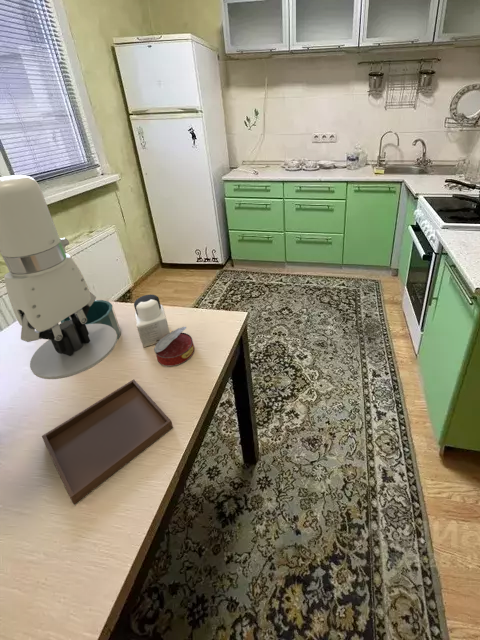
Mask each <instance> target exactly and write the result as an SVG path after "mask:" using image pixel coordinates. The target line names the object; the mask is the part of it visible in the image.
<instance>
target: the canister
mask: <svg viewBox="0 0 480 640" xmlns="http://www.w3.org/2000/svg"><path fill="white" fill-rule="evenodd" d="M86 318H87V322H86V323H85V325H87V324H105V325H108V326H110V327H112V328H113V329H114V330H115V331H116V334H117V341H118V340H119V339H120V336H121V333H122V332H121V327H120V324H119V321H118V318H117V315H116V312H115V309H114V306H113V304H112V303H111V302H110V301H109V300H103V299H97V300H95V301H94V302H93V304H92V305H91V306H90V307H89V311H88V313H87V316H86ZM69 320H70V318H69V317H67V318H65V319H64V320H62V321H61V322H60V324H61V323H62V322H65V321H69Z"/></svg>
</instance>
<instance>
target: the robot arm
mask: <svg viewBox="0 0 480 640" xmlns="http://www.w3.org/2000/svg"><path fill="white" fill-rule="evenodd" d="M59 235H60V234H59V233H58V230H57V228H56V225H55V222H54V220H53V217H52V215H51V211H50V210H49V207H48V204H47V202H46V199H45V196H44V193H43V191H42V188H41V186H40V184H39V183H38V182H37V180H36V179H35V178H33V177H31V176H27V175H6V176H0V255H1V258H2V259H3V261H4V263H5V265H6V267H7V270H8V271H9V272H7V273H5V274H4V276H3V277H4V283H5V290H6V292H7V296H8V300H9V303H10V306H11V308H12V311H13V314H14V317H15V318H16V320H17V322H18V324H19V325H20V326H21V332H20V340H21V341H23V342H27V343H31V342H35V341H39V340H47V341H48V340H51V342H52V344H53V346H54V348H55V350H56V352H58V353H59V354H62V353H63V354H65V355H68V356H71V355H73V353H74V351H73V349H72V347H71V344H70V342H69V340H68V338H67V337H66V336H63V335H62V332H61V329H60V326H59V324H60V323H61V321H62V320H64V319H65V318H67V317H69V318H70V320H72V321H74V322H75V325H76V327H77V330H78V332H79V335H80V337H81V339H82V342H83V343H89V342H90V339H89V336H88V335H89V332H88V330H87V327H86V325H85V323H86V322H87V318H86V316H87V313H88V311H89V307H90V306H91V305H92V304H93V302H94V301H95V300H96V299H97V296H96V295H95V294H94V293H92V292H90V288H89V286H88V284H87V281H86V279H85V277H84V275H83V273H82V272H81V270H80V268H79V266H78V265H77V263H76V262H75V260H74V259H73V258H72V255H70V254H69V253H67V252H66V249H65V248H67V247H68V246H69V245H70V242H69V239H68V238H66V237H63V238H60V236H59Z"/></svg>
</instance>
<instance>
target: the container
mask: <svg viewBox="0 0 480 640" xmlns="http://www.w3.org/2000/svg"><path fill="white" fill-rule="evenodd" d="M133 307H134V310H135V311H134V317H135V325H136V328H137V332H138V335H139V339H140V342H141V346H142V347H143V348H146V347H149V346H152V345H156V344H157V342H158V341H159V340H160V339H162V338H163V337H164V336H166V335H167V334H169V333H170V332H171V330H170V328H169V323H168V319H167V315H166V312H165V308H164V305H163V304H161V302H160V298H159V296H157V295H155V294H145V295H142V296H140V297H138V298H137V299H136V300H135V301H134V303H133Z"/></svg>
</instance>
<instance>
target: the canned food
mask: <svg viewBox="0 0 480 640" xmlns="http://www.w3.org/2000/svg"><path fill="white" fill-rule="evenodd" d="M186 329H187V326H181V327H178V328H176V329H174V330H172V331H170V333H169V334H167V335H166V336H164V337H163V338H162V339H160V340H159V341H158V342H157V343H156V344H155V345H154V348H153V351H154V353H155V356H156V360H157V362H158V363H159V364H160V365H161V366H165V367H176V366H179V365H182V364H183V363H185V362H187V361H188V360H190V359H191V358H192V356H193V354H194V352H195V346H194V345H195V344H194V341H193V336H192V335H190V334H188V333H186V332H184V331H185V330H186Z"/></svg>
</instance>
